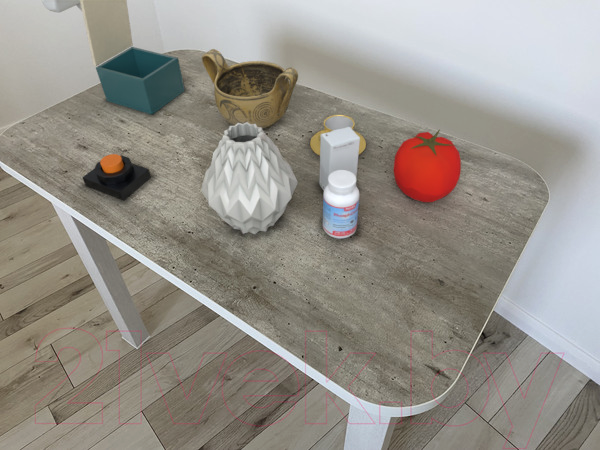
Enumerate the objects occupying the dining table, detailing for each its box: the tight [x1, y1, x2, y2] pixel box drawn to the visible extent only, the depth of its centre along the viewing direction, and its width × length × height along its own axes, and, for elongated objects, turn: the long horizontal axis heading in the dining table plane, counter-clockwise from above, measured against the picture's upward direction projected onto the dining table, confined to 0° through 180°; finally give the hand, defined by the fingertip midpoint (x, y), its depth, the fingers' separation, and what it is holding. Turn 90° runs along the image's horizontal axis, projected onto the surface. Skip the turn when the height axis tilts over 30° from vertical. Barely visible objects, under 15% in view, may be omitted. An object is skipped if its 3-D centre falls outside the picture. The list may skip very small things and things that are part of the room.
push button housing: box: [81, 154, 152, 202], centre depth 95 cm, size 10×8×4 cm
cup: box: [309, 114, 367, 157], centre depth 102 cm, size 12×12×5 cm
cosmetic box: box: [318, 127, 360, 191], centre depth 90 cm, size 6×4×12 cm
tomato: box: [393, 129, 462, 203], centre depth 88 cm, size 12×13×12 cm
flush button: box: [99, 153, 124, 173], centre depth 94 cm, size 4×4×2 cm
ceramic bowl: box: [201, 48, 299, 130], centre depth 106 cm, size 22×17×15 cm
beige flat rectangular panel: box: [80, 0, 134, 67], centre depth 111 cm, size 15×13×1 cm
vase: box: [200, 122, 299, 235], centre depth 82 cm, size 16×16×18 cm
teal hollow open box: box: [95, 46, 186, 115], centre depth 118 cm, size 15×13×9 cm
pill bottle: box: [322, 170, 360, 239], centre depth 82 cm, size 6×6×11 cm
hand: (93, 18), depth 113 cm, fingers closed
